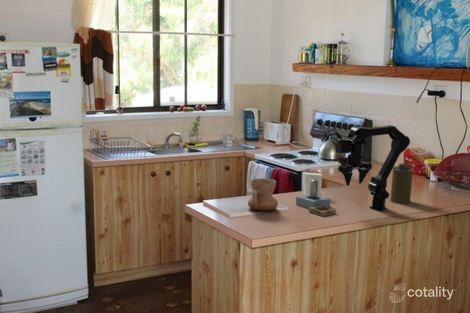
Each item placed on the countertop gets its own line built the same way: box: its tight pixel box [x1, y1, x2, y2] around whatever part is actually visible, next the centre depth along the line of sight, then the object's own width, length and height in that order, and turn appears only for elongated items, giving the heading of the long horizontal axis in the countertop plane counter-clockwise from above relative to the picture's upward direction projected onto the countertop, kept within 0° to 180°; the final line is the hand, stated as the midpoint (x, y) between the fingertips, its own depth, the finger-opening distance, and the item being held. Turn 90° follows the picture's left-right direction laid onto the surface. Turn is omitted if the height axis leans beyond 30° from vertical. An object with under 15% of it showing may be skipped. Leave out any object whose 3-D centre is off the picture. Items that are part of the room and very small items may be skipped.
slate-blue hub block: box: [295, 194, 331, 209], centre depth 300 cm, size 12×12×4 cm
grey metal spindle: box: [309, 179, 318, 200], centre depth 299 cm, size 4×4×13 cm
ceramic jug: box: [247, 177, 279, 212], centre depth 289 cm, size 18×14×14 cm
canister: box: [389, 162, 414, 205], centre depth 313 cm, size 11×10×20 cm
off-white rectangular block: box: [303, 172, 323, 196], centre depth 319 cm, size 9×9×12 cm
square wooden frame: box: [308, 205, 337, 217], centre depth 287 cm, size 9×9×2 cm
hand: (354, 184), depth 291 cm, fingers open, 9 cm apart
